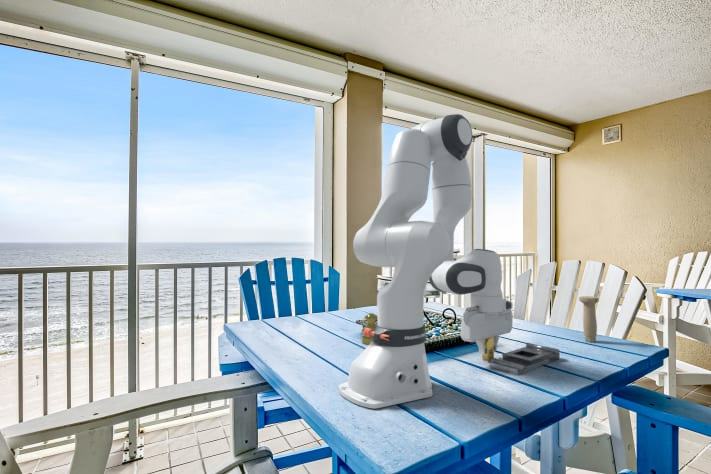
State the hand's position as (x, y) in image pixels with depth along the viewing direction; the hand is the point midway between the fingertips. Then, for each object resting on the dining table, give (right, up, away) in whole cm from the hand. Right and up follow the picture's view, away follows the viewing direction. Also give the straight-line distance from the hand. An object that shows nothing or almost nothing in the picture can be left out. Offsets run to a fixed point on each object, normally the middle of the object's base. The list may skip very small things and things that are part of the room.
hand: (487, 352), depth 105 cm
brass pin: (0, -2, 0) cm, 2 cm away
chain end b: (+12, -2, -1) cm, 12 cm away
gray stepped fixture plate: (+7, -2, -5) cm, 9 cm away
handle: (+42, -2, +19) cm, 46 cm away
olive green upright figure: (-33, -4, +22) cm, 40 cm away
